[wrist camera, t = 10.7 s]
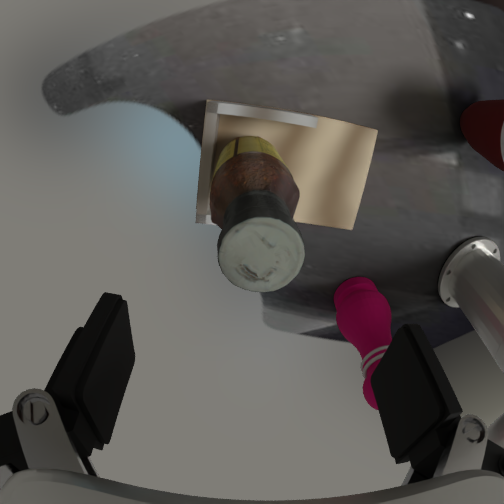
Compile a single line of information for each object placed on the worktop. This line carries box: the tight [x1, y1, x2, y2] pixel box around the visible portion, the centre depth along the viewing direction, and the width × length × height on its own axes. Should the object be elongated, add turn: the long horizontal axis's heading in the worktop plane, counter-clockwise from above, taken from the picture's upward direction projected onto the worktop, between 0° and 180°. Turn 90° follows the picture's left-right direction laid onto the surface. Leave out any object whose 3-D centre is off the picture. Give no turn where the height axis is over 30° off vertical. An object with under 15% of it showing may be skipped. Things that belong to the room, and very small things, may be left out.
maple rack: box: [196, 100, 378, 230], centre depth 31 cm, size 18×12×5 cm, turn 82°
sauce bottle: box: [209, 136, 305, 292], centre depth 23 cm, size 6×6×20 cm
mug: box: [460, 100, 504, 171], centre depth 24 cm, size 10×8×10 cm
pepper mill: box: [334, 277, 392, 410], centre depth 33 cm, size 7×7×20 cm
